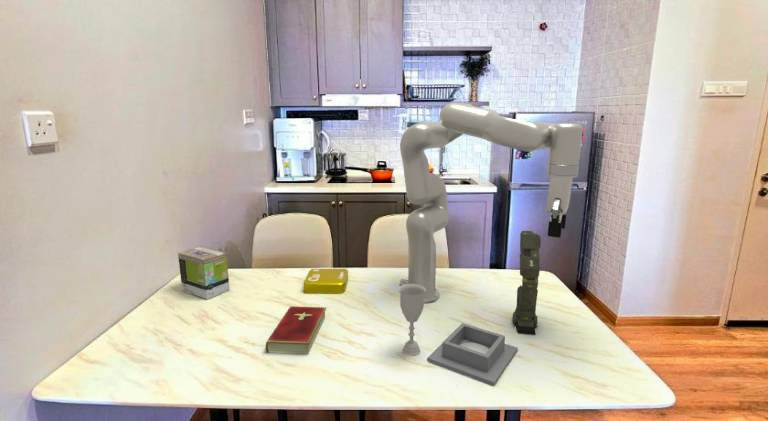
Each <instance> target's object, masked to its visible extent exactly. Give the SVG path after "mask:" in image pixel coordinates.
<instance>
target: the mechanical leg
mask: <svg viewBox="0 0 768 421" xmlns="http://www.w3.org/2000/svg"><path fill="white" fill-rule="evenodd" d="M519 235H520V241H519V251H520V254H519V276H521V277H522V278H521V279H522V281H521V282H522V283H521V284H519V286H518V287H517V289H516V290H517V291H516V292H517V293H516V306H515V310H514V311H513V312H512V325H513V326H514V328H515V330H516V332H517V334H520V335H521V334H522V335H530V336H535V335H536V328H537V327H538V323H539V322H538V321H539V320H538V319H539V318H538V315H536V311H537V310H536V308H537V299H538V292H539V290H538V286H539V277H540V268H541V267H540V265H541V264H540V249H541V245H542V244H541V242H542V240H541V239H542V238H541V235H540V234H538V233H537V232H536V233H535V232H533V231H531V230H522V231H520V234H519Z"/></svg>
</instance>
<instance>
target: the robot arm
mask: <svg viewBox="0 0 768 421" xmlns="http://www.w3.org/2000/svg"><path fill="white" fill-rule="evenodd" d="M583 129H584V128H583V126H582V125H581V124H579V123H576V122H575V123H572V122H571V123H570V122H569V123H567V122H565V123H564V122H561V123H560V122H559V123H553V122H546V121H531V122H529V121H524V120H519V119H514V118H510V117H506V116H502V115H500V114H499V113H497V111H495V110H493V109H488V108H484V107H483V108H482V107H478V106H474V105H473V104H471V103H467V102H450V103H448V104H446V105H444V106H443V108H442V109H441V110H440V112H439V120H438V121H434V122H432V121H430V122H429V121H426V122H425V121H424V122H423V121H422V122H418V123H415V124H412V125H411V126H409V127H408V128H406V130H405V131H404V132H403V134H402V136H401V138H400V143H399V150H400V155H401V156H400V157H401V160H402V165H403V166H402V168H403V175H404V183H405V185H404V186H405V192H406V196H407V200H408V201H409V203H411V204H413V205H416V206H418V205H423V206H422V207H420V208H416V209H415V210H413V211H411V212H410V213H409V214H408V216H407V218H406V221H405V227H406V228H405V229H406V233H407V234H406V235H407V243H408V253H407V254H408V263H407V264H408V271H407V272H408V273H407V275H408V276H407V277H408V278H407V279H405V278H400V280H399V287H400V286H402V285H405V284H417V285H421V286H423V287H425V289H426V292H425V293H424V304H428V303H433V302H435V301H437V300H438V299H439V298H440V291H439V290H438V289H437V288H436V277H437V276H436V274H437V273H436V270H437V246H436V241H435V238H434V234H435V233H436V232H439V231H441V230H443V229H444V228H446V227H447V225H448V223H449V218H450V212H449V203H448V192H447V187H446V184H445V182H444V180H443V178H442V177H441V176H439V175H438V174H436V173H430V164H429V160H428V158H427V155H426V154H425V151H426V150H429V149H438V148H442V147H445V146H447V145H448V144H450V143H452V142H453V141H455V140H456V139H458V138H460V137H461V136H463V135H466V136H467V135H468V136H470V137H475V138H478V139H482V140H485V141H487V142H491V143H494V144H496V145H498V146H501V147H506V148H510V149H514V150H516V151H517V150H518V151H521V152H522V151H523V152H534V151H538V150H545V149H549V152H548V164H547V175H546V176H548V177H550V179H549V184H548V191H547V192H548V193H547V200H546V207H545V213H547V214H549V213H550V217H549V221H548V226H547V227H548V228H547V236H548V237H551V238H558V239H559V238H561V236H562V229H563V230H564V229H565V228H566V222H567V212H568V209H569V205H570V202H571V201H570V200H571V194H572V185H573V179H575V178H578V177H579V167H580V158H581V150H582V149H581V148H582V140H583Z"/></svg>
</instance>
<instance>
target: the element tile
mask: <svg viewBox="0 0 768 421" xmlns="http://www.w3.org/2000/svg"><path fill="white" fill-rule="evenodd" d="M348 282H349V270H348V269H347V268H311V269H309V271H308V273H307V275H306V277H305V279H304V281H303V293H304V294H309V295H313V294H314V295H318V294H319V295H323V294H324V295H341V294H344V293H345V292H346V290H347V286H348Z"/></svg>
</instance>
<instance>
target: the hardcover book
mask: <svg viewBox="0 0 768 421" xmlns="http://www.w3.org/2000/svg"><path fill="white" fill-rule="evenodd" d="M326 311H327V307H325V306H324V307H323V306H321V307H320V306H295V305H292V306H291V305H290V306H289V307H288V309H287V310H286V312H285V313H284V315H283V316H282V318H281V319H280V321H279V323H278V324H277V326H276V327H275V328H274V330H273V331H272V333H271V335H270V336H269V338H268V339H267V340H266V342H265V351H266V354H269V353H278V354H279V353H281V354H299V355H300V354H302V355H304V354H305V355H309V354H310V352H311V350H312V348H313V345H314V343H315V341H316V339H317V337H318V335H319V332H320V330H321V327H323V324H324V321H325V319H326Z"/></svg>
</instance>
